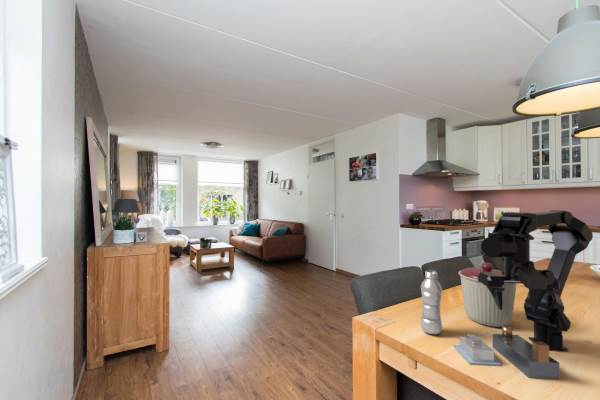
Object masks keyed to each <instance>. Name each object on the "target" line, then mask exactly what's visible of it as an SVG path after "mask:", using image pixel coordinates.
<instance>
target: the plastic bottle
mask: <svg viewBox="0 0 600 400" xmlns="http://www.w3.org/2000/svg"><path fill="white" fill-rule="evenodd" d="M424 273H425V275H424V277H425V279H424V280H422V282H421V284H420V290H421V302H422V310H421V311H422V312H421V316H420V317H421V318H420V327H421V329H422V332H423V331H424V333H427V334H428V335H440V333H441V332H442V329H443V323H442V318H441V301H442V294H443V288H442V285H441V283H440V282H439V280H438V278H439V277H438V272H437V271H436V270H430V269H429V270H427V269H426V270H425V271H424Z"/></svg>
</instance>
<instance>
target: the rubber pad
mask: <svg viewBox="0 0 600 400" xmlns="http://www.w3.org/2000/svg"><path fill="white" fill-rule="evenodd" d="M452 347H453V348H454V349H455V350H456V352H458V354H459V355H461V357H462V358H463V359H464V360H465V361H466V362H467V363H468V364H469V365H477V366H497V367H502V363H500V361H499V360H497V359H496V358H495V357H494V362H483V361H472V360H471V359H470V358H469V356H468V355H467V354H466V353H465V352H464V351H463V350H462V349H461V348H460V344H457V345H456V344H453V345H452Z"/></svg>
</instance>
